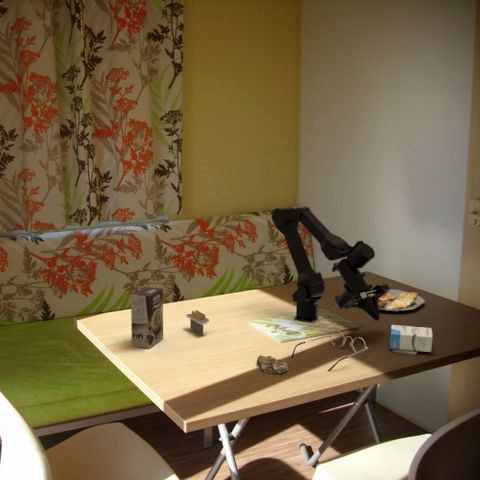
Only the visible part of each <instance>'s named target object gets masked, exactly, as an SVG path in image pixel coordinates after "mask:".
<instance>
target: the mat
mask: <svg viewBox="0 0 480 480" xmlns="http://www.w3.org/2000/svg"><path fill="white" fill-rule="evenodd" d="M418 352H419V351H412V350H400V349H392V353H397V354H402V355H403V354H404V355H411V356H417V353H418Z"/></svg>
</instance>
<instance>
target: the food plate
mask: <svg viewBox="0 0 480 480" xmlns="http://www.w3.org/2000/svg"><path fill="white" fill-rule="evenodd" d="M366 295H367V294H366ZM378 300H379V310H382V311H388V312H395V313H398V312H399V311H400V312H402V311H408V310H415V309H416V308H418V307H420V306H422V305H423V304H424V303H426V300H425V299H424V298H422V296H421V295H419V293H418V292H417V291H410V292H409V291H405V290H401V289H391V288H390V290H389V291H388V292H387V293H385V294H384V295H383V296H382V297H381V298H379V299H378Z"/></svg>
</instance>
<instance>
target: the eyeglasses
mask: <svg viewBox="0 0 480 480" xmlns="http://www.w3.org/2000/svg"><path fill="white" fill-rule="evenodd" d="M335 332H336V330H334V331H333V333H335ZM338 332H339V333H340V334H341V335H342V336H343V340H342V344H341V345H339V346H338V347H341V348H342V347H344V346H345V344H346V341H347V338H350V340H351V341H350V343H349V346H350V347H351V348H352V351H353V352H354V353H352V354H350V355H348V356H347V355H346V356H344V357H343V358H340V359H339V360H337V362H335V364H333V365H332V366H331V367H330V368H329V369H328V370H327V372H330V371H332V370H333V368H335V366H336V365H337V364H339V362H342V361H343V360H345V359H348V358H349V357H352V356H354V355H357V354H359V355H362V354H363V353H365V352H366V350H369V347H367V346H366V342H365V339H363V337H359V336H358V337H355V338H354V339H353V338H352V336H345V335H344V334H343V332H342V331H340V330H338ZM333 333H331V334H328V335H323V336H320V337H317V338H314V339H311V340H307V341H302V342H299V343H297V344H295V346H294V349H293V351H292V355H291V359H293V358H294V355H295V351H296V349H297V347H298V346H300V345H303V344H306V343H309V342H313V341H317V340H320V339H324V338H330V341H331V343H332V345H333V346H335V343H334V342H333V340H332V335H333ZM358 338H359V339H361V340H362V341H363V343H364V348H363V349H361V350H359V351H357V350H356V349H355V347H354V342H355V340H356V339H358Z"/></svg>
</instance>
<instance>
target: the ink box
mask: <svg viewBox="0 0 480 480" xmlns="http://www.w3.org/2000/svg"><path fill="white" fill-rule="evenodd" d="M433 337H434V336H433V329H432V327H421V326H409V325H398V324H391V328H390V343H389V344H390V345H389V346H390V347H389V348H390V349H391V350H393V349H400V350H412V351H418V352H423V353H424V352H426V353H432V347H433V346H432V345H433Z"/></svg>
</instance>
